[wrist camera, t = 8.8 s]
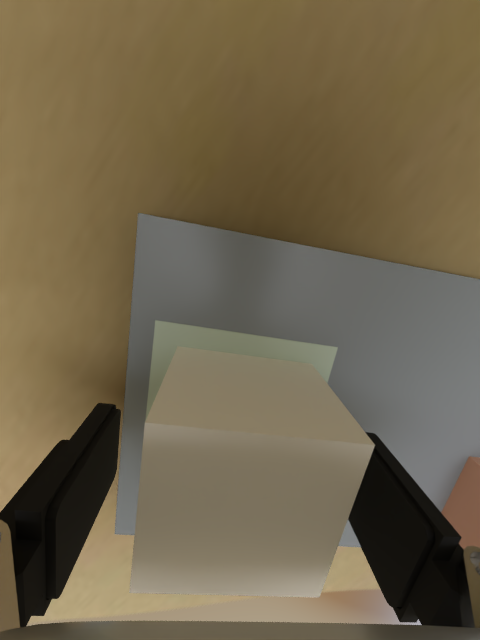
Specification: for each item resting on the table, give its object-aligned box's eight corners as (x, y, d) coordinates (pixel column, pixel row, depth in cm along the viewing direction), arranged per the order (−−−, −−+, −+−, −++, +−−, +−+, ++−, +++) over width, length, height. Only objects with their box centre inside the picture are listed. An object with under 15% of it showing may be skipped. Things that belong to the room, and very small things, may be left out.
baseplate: (147, 216, 11) (138, 212, 10) (634, 311, 14) (673, 317, 12) (122, 511, 15) (114, 535, 14) (501, 535, 18) (521, 556, 17)
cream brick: (177, 346, 11) (144, 422, 6) (311, 363, 12) (375, 445, 7) (164, 460, 13) (129, 592, 8) (283, 470, 13) (319, 597, 8)
